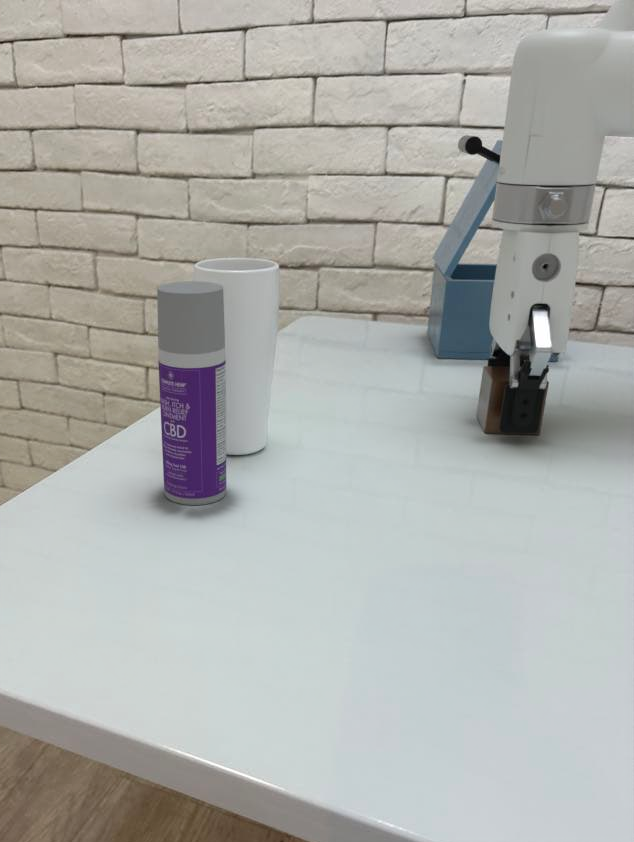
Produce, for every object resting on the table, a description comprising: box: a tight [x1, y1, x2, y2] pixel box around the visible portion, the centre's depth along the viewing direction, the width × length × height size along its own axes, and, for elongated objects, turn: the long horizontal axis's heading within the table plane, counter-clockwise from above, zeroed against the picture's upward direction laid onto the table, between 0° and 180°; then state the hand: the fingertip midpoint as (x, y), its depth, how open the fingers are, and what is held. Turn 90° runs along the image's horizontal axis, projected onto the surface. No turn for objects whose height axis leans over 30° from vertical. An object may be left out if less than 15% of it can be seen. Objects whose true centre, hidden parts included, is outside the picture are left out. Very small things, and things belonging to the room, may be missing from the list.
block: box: [476, 365, 550, 436], centre depth 74 cm, size 5×5×5 cm
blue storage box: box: [426, 262, 559, 362], centre depth 98 cm, size 14×13×9 cm
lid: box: [431, 134, 503, 278], centre depth 93 cm, size 15×13×5 cm
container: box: [156, 280, 227, 506], centre depth 58 cm, size 5×5×15 cm
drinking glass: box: [193, 257, 281, 456], centre depth 67 cm, size 7×7×15 cm
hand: (508, 414), depth 74 cm, fingers open, 8 cm apart
